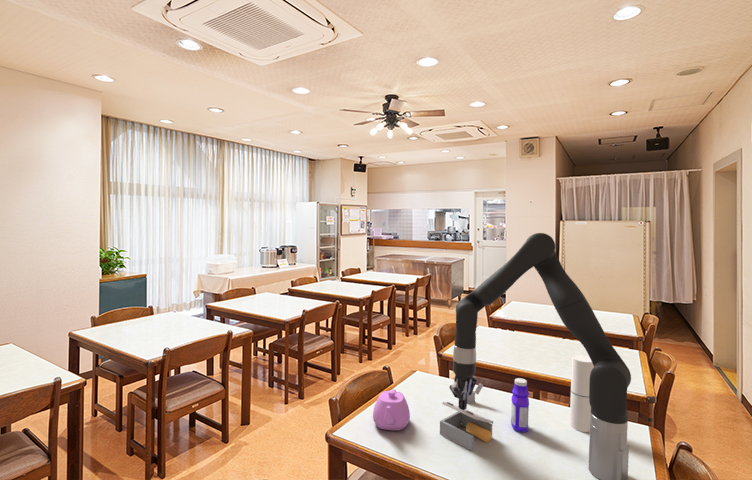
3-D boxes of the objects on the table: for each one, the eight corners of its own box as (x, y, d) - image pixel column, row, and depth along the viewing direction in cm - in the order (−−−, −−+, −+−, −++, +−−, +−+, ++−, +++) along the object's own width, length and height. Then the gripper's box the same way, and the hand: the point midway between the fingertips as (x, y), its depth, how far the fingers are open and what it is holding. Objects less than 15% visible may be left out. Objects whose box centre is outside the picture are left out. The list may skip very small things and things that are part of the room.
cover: (492, 423, 128) (493, 420, 128) (474, 418, 120) (475, 414, 120) (461, 409, 137) (462, 405, 138) (442, 403, 130) (443, 400, 130)
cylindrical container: (569, 428, 134) (572, 359, 133) (569, 419, 140) (572, 353, 139) (592, 434, 131) (595, 363, 130) (591, 424, 137) (594, 357, 136)
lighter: (464, 402, 153) (464, 383, 153) (464, 400, 155) (464, 381, 154) (482, 404, 152) (482, 384, 151) (482, 402, 153) (482, 383, 153)
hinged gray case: (492, 437, 128) (492, 424, 128) (471, 451, 120) (472, 437, 120) (460, 422, 137) (460, 410, 137) (439, 433, 130) (439, 421, 129)
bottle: (529, 434, 130) (531, 385, 129) (512, 432, 131) (514, 383, 130) (525, 423, 137) (527, 376, 136) (509, 421, 138) (510, 375, 138)
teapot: (376, 410, 146) (376, 380, 145) (410, 412, 144) (411, 382, 143) (368, 438, 126) (368, 404, 125) (407, 442, 124) (408, 407, 124)
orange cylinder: (489, 444, 125) (493, 433, 127) (484, 440, 123) (488, 430, 125) (469, 433, 131) (473, 424, 133) (464, 430, 130) (468, 420, 131)
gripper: (466, 352, 135) (464, 399, 135) (443, 360, 126) (441, 410, 127) (485, 358, 129) (483, 407, 130) (462, 366, 120) (459, 419, 121)
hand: (462, 408), depth 128 cm, fingers closed
